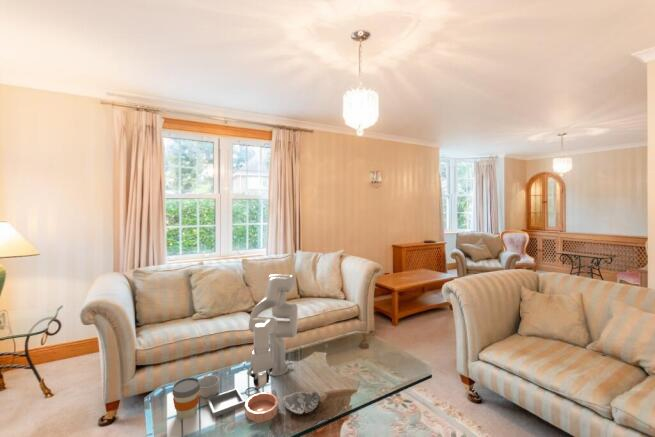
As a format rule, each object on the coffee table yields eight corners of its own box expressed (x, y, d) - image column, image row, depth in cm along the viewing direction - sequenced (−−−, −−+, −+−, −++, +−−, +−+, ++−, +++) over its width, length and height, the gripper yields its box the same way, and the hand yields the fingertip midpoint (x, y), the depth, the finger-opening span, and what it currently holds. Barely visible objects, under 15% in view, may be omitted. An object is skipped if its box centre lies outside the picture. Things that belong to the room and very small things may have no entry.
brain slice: (285, 421, 155) (285, 416, 155) (281, 399, 172) (281, 394, 171) (324, 414, 160) (324, 409, 160) (316, 393, 177) (316, 388, 176)
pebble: (264, 379, 164) (264, 370, 164) (268, 384, 160) (268, 375, 159) (255, 382, 161) (255, 373, 161) (258, 388, 157) (258, 378, 157)
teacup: (220, 398, 171) (219, 384, 171) (198, 403, 167) (197, 388, 167) (218, 383, 184) (218, 370, 183) (198, 387, 180) (198, 374, 179)
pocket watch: (243, 395, 174) (242, 377, 173) (250, 386, 182) (250, 369, 181) (256, 397, 172) (256, 380, 171) (263, 388, 180) (263, 371, 180)
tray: (237, 393, 176) (237, 388, 176) (245, 406, 165) (245, 401, 165) (206, 403, 167) (206, 398, 167) (213, 418, 156) (213, 412, 156)
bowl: (270, 396, 173) (270, 388, 173) (283, 414, 160) (283, 405, 160) (241, 407, 164) (241, 399, 164) (252, 427, 151) (252, 418, 151)
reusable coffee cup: (195, 401, 169) (195, 374, 167) (204, 414, 159) (203, 385, 158) (170, 411, 161) (169, 383, 159) (177, 426, 151) (176, 396, 150)
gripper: (274, 341, 167) (274, 374, 168) (242, 349, 158) (242, 385, 159) (280, 347, 161) (280, 381, 162) (247, 356, 151) (247, 393, 153)
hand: (261, 382), depth 161 cm, fingers closed on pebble, 4 cm apart
